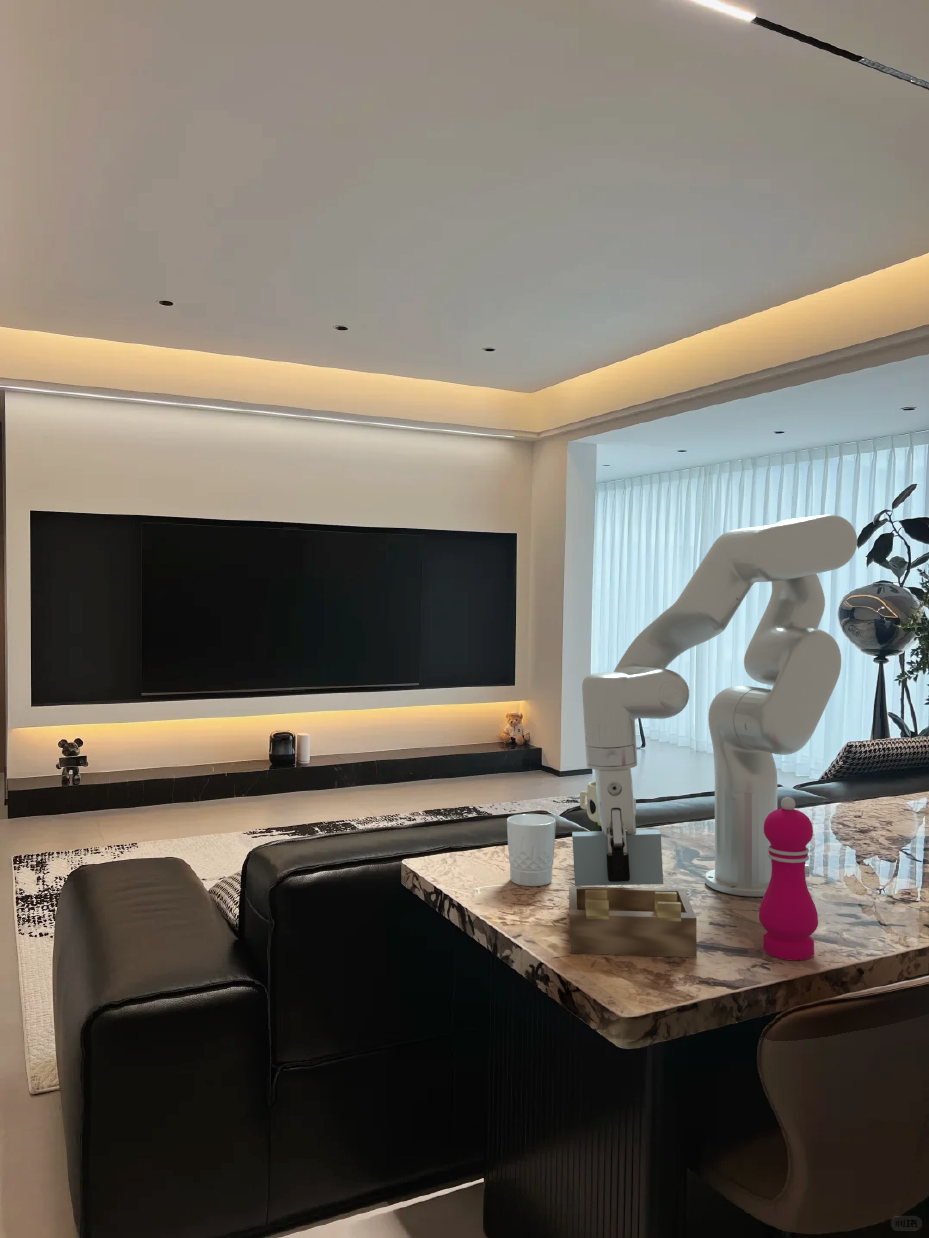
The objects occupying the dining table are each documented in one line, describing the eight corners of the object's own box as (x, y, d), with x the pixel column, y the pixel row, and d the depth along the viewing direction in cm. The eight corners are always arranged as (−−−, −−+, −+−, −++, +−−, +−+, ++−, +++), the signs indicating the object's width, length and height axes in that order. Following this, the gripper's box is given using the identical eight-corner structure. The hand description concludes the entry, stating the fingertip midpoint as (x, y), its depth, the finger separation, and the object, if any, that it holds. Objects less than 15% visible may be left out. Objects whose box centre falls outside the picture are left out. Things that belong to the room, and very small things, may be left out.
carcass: (684, 924, 130) (684, 873, 130) (698, 961, 117) (698, 904, 117) (569, 921, 132) (568, 870, 132) (570, 957, 119) (569, 900, 118)
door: (661, 878, 140) (659, 829, 140) (663, 883, 138) (660, 833, 138) (574, 880, 142) (572, 831, 141) (575, 885, 139) (572, 836, 139)
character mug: (570, 856, 165) (570, 783, 165) (589, 847, 171) (589, 777, 171) (626, 866, 159) (626, 790, 159) (644, 857, 165) (644, 783, 164)
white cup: (553, 889, 147) (552, 826, 147) (503, 886, 148) (503, 824, 148) (558, 874, 155) (557, 814, 154) (510, 872, 156) (510, 812, 156)
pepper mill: (750, 942, 123) (749, 791, 123) (802, 940, 124) (802, 790, 124) (772, 963, 116) (772, 803, 116) (828, 961, 117) (828, 802, 116)
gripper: (641, 765, 131) (648, 894, 131) (632, 744, 147) (639, 860, 147) (587, 767, 131) (595, 896, 132) (584, 746, 147) (591, 861, 148)
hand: (618, 876), depth 140 cm, fingers closed on door, 2 cm apart
